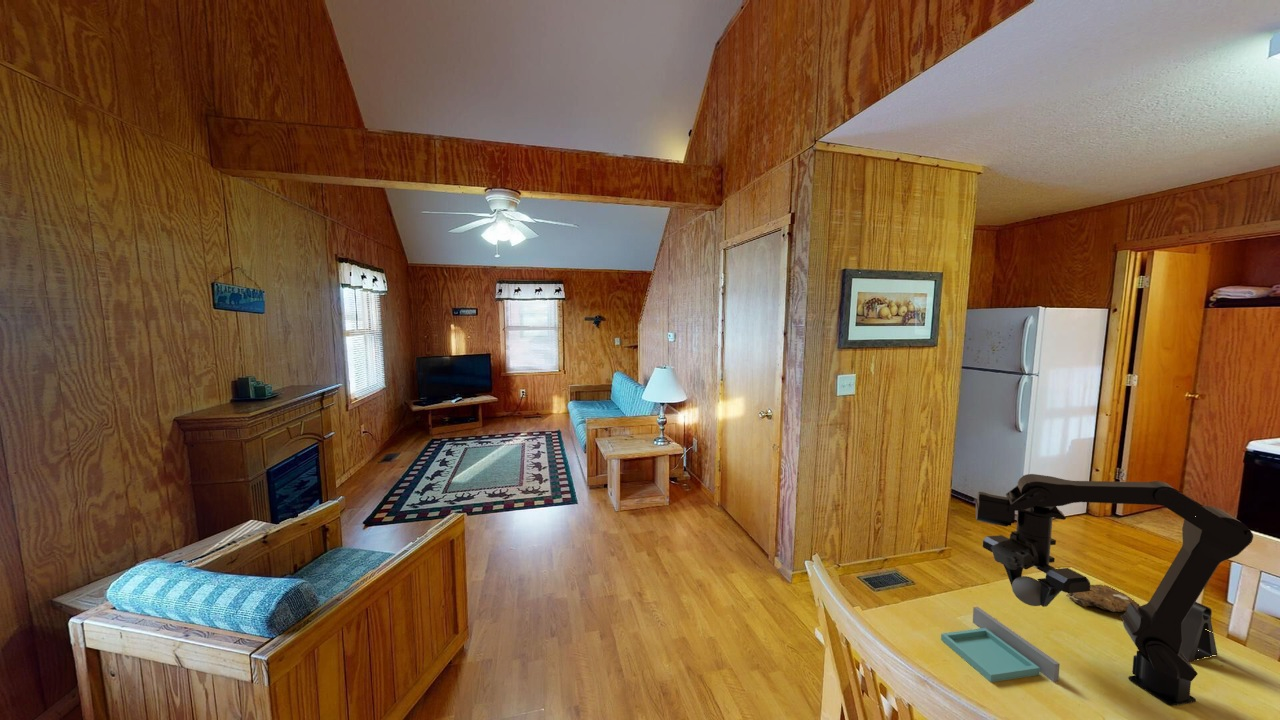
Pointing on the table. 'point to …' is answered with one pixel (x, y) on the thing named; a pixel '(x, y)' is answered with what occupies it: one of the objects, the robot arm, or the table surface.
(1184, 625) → the phone stand
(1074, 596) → the decorative rock
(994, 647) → the dish
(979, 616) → the low wall
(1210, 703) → the table surface
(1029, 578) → the ball
